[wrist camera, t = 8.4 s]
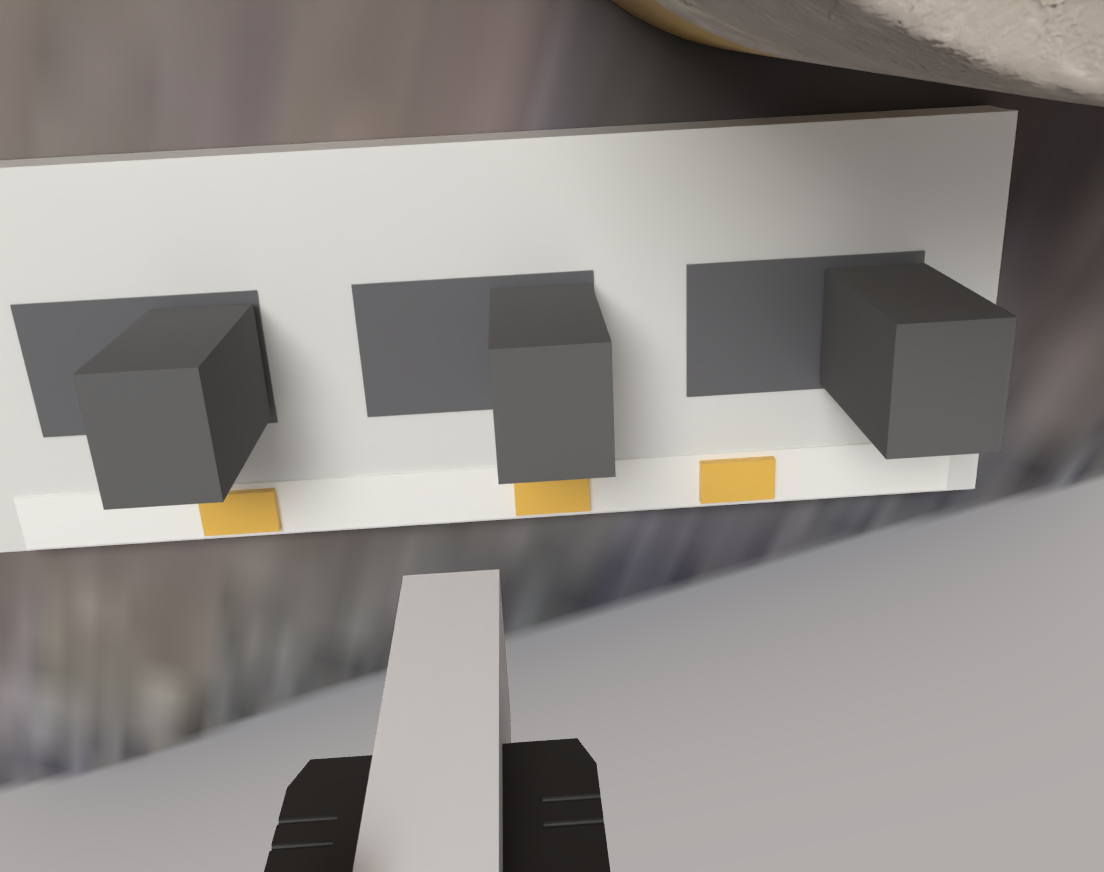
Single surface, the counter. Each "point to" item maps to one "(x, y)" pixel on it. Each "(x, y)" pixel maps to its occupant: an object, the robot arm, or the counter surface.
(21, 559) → the counter surface
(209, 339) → the block
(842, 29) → the vase
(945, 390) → the knob
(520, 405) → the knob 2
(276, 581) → the counter surface
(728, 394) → the switch board
